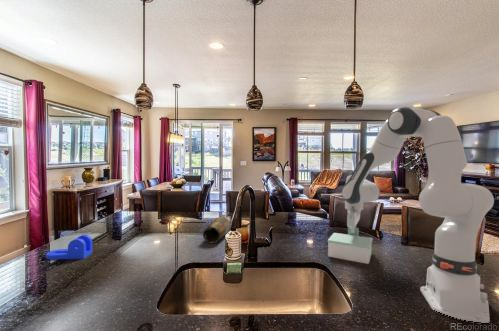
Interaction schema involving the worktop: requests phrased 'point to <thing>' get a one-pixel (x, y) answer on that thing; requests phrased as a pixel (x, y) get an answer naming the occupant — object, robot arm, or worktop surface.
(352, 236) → the lid
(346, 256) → the tub
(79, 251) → the bracket
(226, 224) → the decorative bottle
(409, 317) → the worktop surface
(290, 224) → the worktop surface
